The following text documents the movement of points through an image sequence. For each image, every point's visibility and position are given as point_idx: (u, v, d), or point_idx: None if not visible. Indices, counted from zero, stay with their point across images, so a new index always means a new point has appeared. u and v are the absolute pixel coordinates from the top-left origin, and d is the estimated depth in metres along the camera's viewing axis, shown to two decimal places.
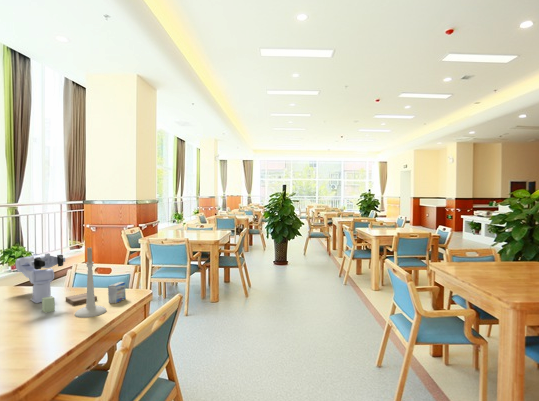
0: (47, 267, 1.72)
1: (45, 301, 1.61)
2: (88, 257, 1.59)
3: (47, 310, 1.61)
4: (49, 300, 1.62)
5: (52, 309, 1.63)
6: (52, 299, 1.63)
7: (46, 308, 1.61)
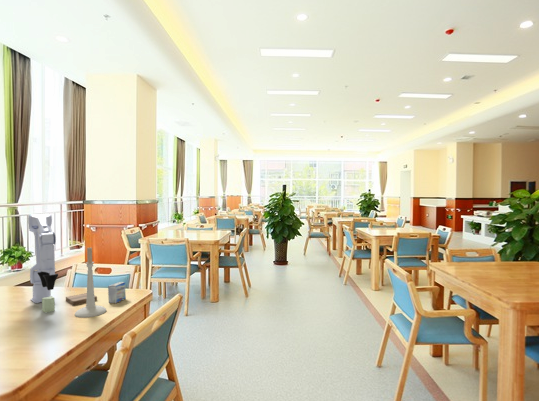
0: None
1: (45, 301, 1.61)
2: (88, 257, 1.59)
3: (47, 310, 1.61)
4: (49, 300, 1.62)
5: (52, 309, 1.63)
6: (52, 299, 1.63)
7: (46, 308, 1.61)
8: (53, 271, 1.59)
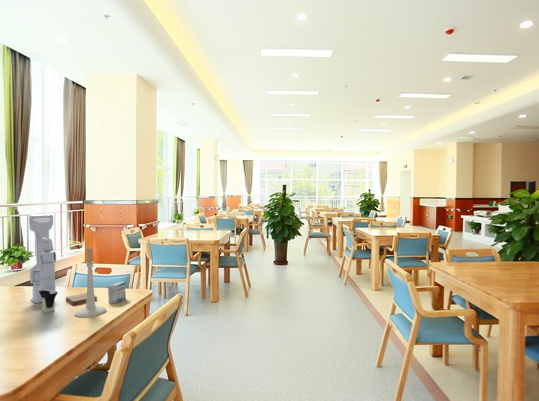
0: None
1: (45, 301, 1.61)
2: (88, 257, 1.59)
3: (47, 310, 1.61)
4: None
5: (52, 309, 1.63)
6: None
7: (46, 307, 1.61)
8: (53, 290, 1.59)
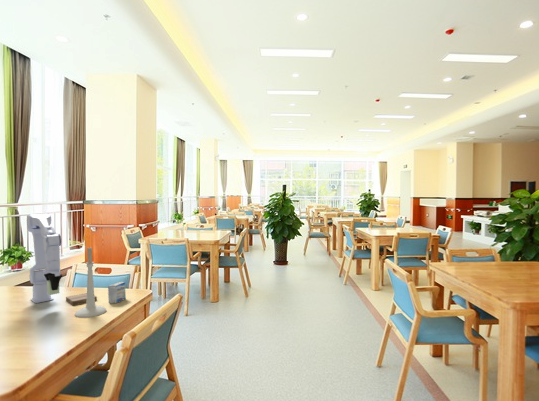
0: None
1: (50, 283, 1.63)
2: (88, 257, 1.59)
3: (52, 292, 1.64)
4: None
5: (57, 291, 1.65)
6: None
7: (50, 290, 1.63)
8: (58, 272, 1.61)
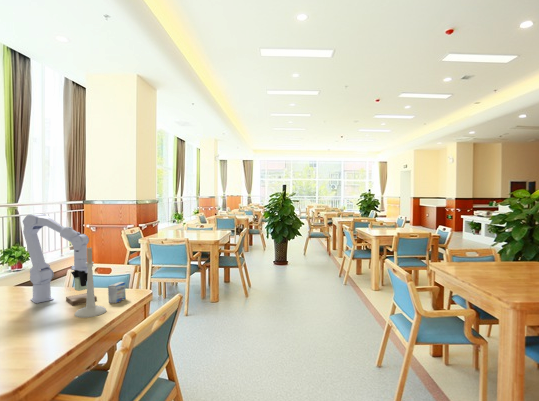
0: None
1: (79, 280, 1.76)
2: (88, 257, 1.59)
3: (81, 288, 1.76)
4: None
5: (85, 288, 1.78)
6: None
7: (79, 286, 1.76)
8: None
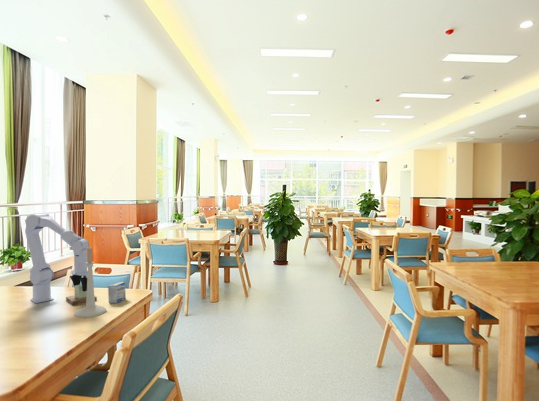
0: None
1: (79, 288, 1.76)
2: (88, 257, 1.59)
3: (81, 296, 1.77)
4: None
5: (85, 295, 1.78)
6: None
7: (79, 294, 1.76)
8: None
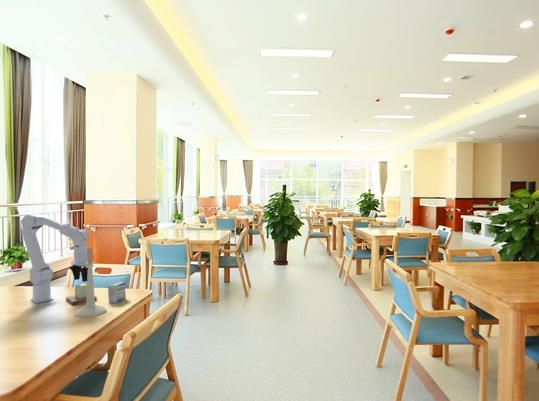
0: None
1: (80, 288, 1.76)
2: (88, 257, 1.59)
3: (81, 296, 1.77)
4: (83, 287, 1.77)
5: (85, 295, 1.78)
6: (85, 286, 1.78)
7: (80, 294, 1.76)
8: None
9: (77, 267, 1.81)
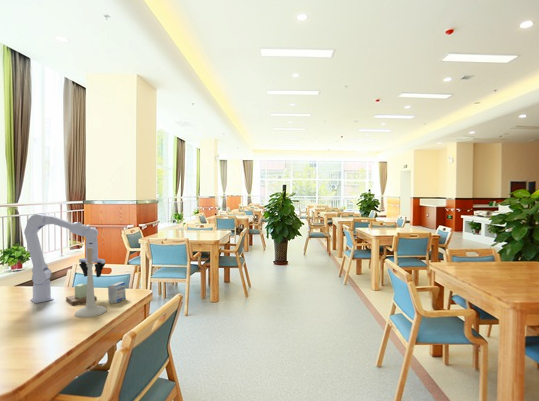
0: None
1: (80, 288, 1.76)
2: (88, 257, 1.59)
3: (82, 296, 1.77)
4: (83, 287, 1.78)
5: (85, 295, 1.79)
6: (85, 285, 1.79)
7: (81, 294, 1.76)
8: (104, 260, 1.85)
9: (86, 264, 1.87)
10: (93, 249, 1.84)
